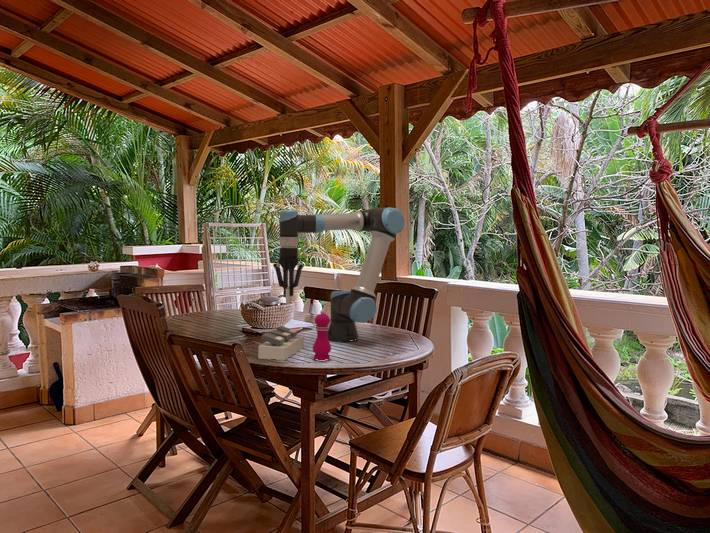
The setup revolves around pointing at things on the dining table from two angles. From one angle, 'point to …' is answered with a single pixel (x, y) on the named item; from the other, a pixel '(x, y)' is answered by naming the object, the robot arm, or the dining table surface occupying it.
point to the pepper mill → (322, 337)
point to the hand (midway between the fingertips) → (288, 303)
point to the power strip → (280, 349)
